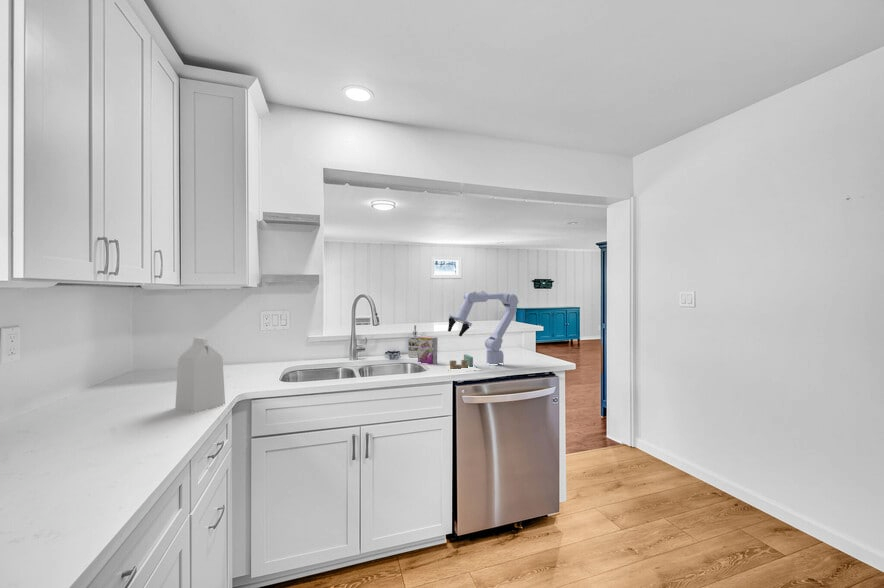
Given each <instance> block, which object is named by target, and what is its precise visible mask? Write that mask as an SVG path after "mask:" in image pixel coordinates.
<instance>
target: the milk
mask: <svg viewBox="0 0 884 588" xmlns="http://www.w3.org/2000/svg"><path fill="white" fill-rule="evenodd" d="M223 360H224V359H223V356H222V355H221V354H220V353H219V352H217V350H215V349H213V347H212V346H211V345H209V342H208V338H207V337H194V338H193V342H192V345H191V346H189V347H188V348H187V349H186V350H185V351H184V352H183V353H182V354H181V355H180V356H179V358H178V360H177V375H176V393H175V406H174V408H175V409H176V408H177V410H180V411H183V410H185V412H187V411H189V412H188V413H191V412H193V413H192V414H196V413H195V412H197V413H200V412H199V411H201V412H204V411H207V410H206V409H208V410H211V409H210V408H212V409H214V408H213V407H215V408H217V407H216V406H219V407H221V406H220V405H222V406H224V405H223V404H225V405H226V396H225V395H226V394H225V379H224V378H225V377H224V361H223ZM203 410H204V411H203Z"/></svg>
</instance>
